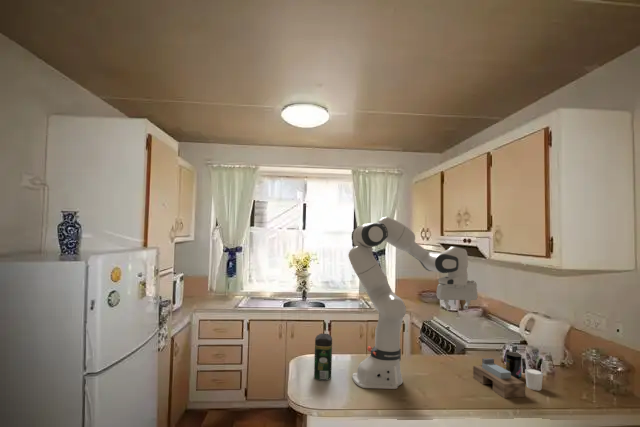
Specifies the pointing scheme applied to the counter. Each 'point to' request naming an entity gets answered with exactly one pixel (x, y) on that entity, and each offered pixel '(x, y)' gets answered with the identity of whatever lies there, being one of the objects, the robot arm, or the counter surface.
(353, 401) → the counter surface
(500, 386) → the wooden bridge block
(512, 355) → the supplement container
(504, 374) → the blue-grey l-shaped block
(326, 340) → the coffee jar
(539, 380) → the white cylinder
